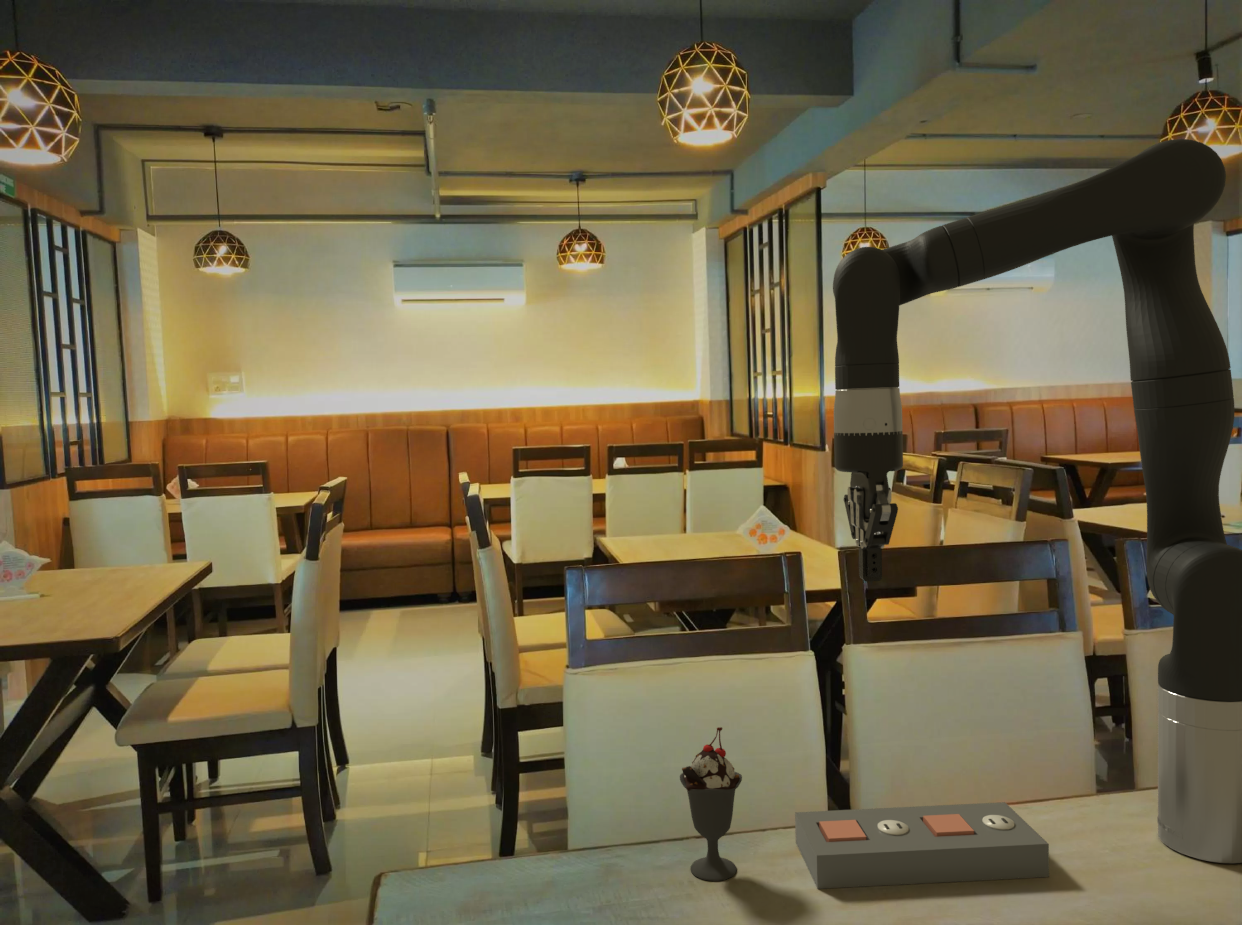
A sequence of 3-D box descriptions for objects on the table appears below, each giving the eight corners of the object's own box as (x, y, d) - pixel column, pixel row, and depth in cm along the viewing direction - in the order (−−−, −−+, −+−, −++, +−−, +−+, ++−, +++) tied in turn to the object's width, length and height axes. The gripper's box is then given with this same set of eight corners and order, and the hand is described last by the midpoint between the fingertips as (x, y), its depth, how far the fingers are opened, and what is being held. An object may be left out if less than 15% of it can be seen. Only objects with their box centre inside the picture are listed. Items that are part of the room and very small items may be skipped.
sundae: (743, 854, 102) (739, 721, 101) (745, 886, 95) (741, 743, 94) (683, 853, 102) (679, 721, 101) (681, 885, 96) (677, 743, 95)
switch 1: (855, 841, 101) (855, 819, 101) (866, 859, 97) (866, 836, 97) (819, 843, 101) (819, 821, 101) (829, 861, 97) (828, 838, 97)
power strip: (1005, 832, 105) (1004, 799, 105) (1048, 876, 95) (1048, 840, 95) (795, 842, 104) (794, 809, 104) (817, 888, 94) (816, 852, 94)
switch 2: (959, 836, 101) (958, 814, 101) (974, 853, 97) (974, 830, 97) (923, 837, 101) (923, 815, 101) (937, 855, 97) (936, 832, 97)
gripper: (921, 429, 98) (923, 590, 99) (882, 426, 111) (884, 568, 112) (851, 431, 98) (854, 593, 99) (820, 428, 111) (823, 571, 112)
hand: (870, 579), depth 106 cm, fingers closed
